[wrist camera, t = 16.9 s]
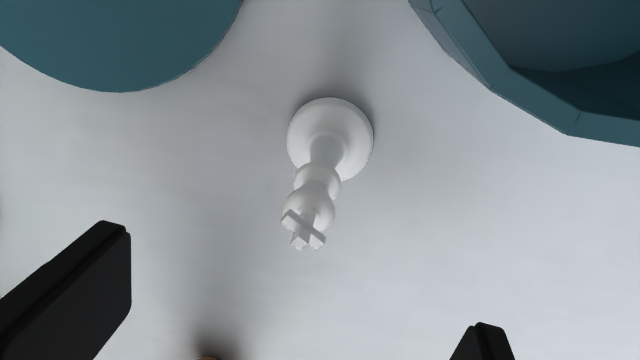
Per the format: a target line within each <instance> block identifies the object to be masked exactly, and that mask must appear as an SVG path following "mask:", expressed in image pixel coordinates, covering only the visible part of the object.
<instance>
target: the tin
mask: <svg viewBox="0 0 640 360" xmlns="http://www.w3.org/2000/svg"><path fill="white" fill-rule="evenodd" d="M408 2H409V3H410V6H411V7H412V8H413V10H414V11H415V13H416V14H417V15H418V17H419V18H420V19H421V21H422V22H423V24H424V25H425V26H426V27H427V29H428V30H429V31H430V33H431V34H432V35H433V37H434V38H435V39H436V41H437V42H438V43H439V45H440V46H441V47H442V49H443V50H444V51H445V52H446V53H447V54H448V55H450V56H451V57H452V58H453V59H454V60H455V61H456V62H458V63H459V64H460V65H461V66H462V67H463V68H465V69H466V70H467V71H468V72H469V73H470V74H472V75H473V76H474V77H475V78H476V79H477V80H478V81H480V82H481V83H482V84H483V85H484V86H485V87H487V88H488V89H489V90H490V91H491V92H493V93H495V94H497V95H498V96H500V97H502V98H503V99H505V100H507V101H508V102H510V103H512V104H514V105H515V106H517V107H519V108H520V109H522V110H524V111H525V112H527V113H529V114H531V115H532V116H534V117H536V118H537V119H539V120H541V121H542V122H544V123H546V124H547V125H549V126H551V127H553V128H554V129H556V130H558V131H559V132H561V133H563V134H566V135H568V136H574V137H580V138H586V139H592V140H598V141H604V142H610V143H616V144H622V145H628V146H634V147H640V0H408Z"/></svg>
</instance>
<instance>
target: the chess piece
mask: <svg viewBox="0 0 640 360" xmlns="http://www.w3.org/2000/svg"><path fill="white" fill-rule="evenodd" d="M286 142H287V149H288V153H289V156H290V158H291V160H292V161H293V163H294V164H295V166H296V167H297V168H298V170H297V171H296V173H295V175H294V178H293V186H294V190H295V191H293V192H292V193H291V194H290V195H289V196H288V197H287V198H286V200H285V202H284V206H283V213H284V215H283V217H282V219H281V222H280V223H281V224H283V225H284V226H285V227H287V228H288V229H289V230H290V231H292V232H293V233H294V234H293V237H292V240H291V243H290V244H291V245H293V246H294V247H295V248H296V249H298V250H299V251H301V250H302V249H303V248H304V247H306V246H307V245H309V246H311V247H312V248H313V249H314V250H316V251H317V250H318V249H319V248H321V247H322V246H323V245H324V244H325V238H326V237H325V236H324V235H323V234H321V232H323V231H325V230H326V229H328V228H329V227H330V226H331V224H332V223H333V220H334V217H335V208H334V204H333V202H332V201H334V200H335V199H336V198H337V196H338V195H339V193H340V190H341V181H344V180H347V179H349V178H351V177H353V176H355V175H356V174H357V173H359V172H360V171H361V170H362V169H363V167H364V166H365V165H366V163H367V162H368V160H369V157H370V155H371V152H372V149H373V142H374V137H373V131H372V127H371V125H370V122H369V120H368V119H367V117H366V116H365V114H364V113H363V112H362V111H361V110H360V109H359V108H358V107H356V106H355V105H353V104H352V103H350V102H348V101H345V100H343V99H339V98H332V97H326V98H319V99H315V100H312V101H310V102H308V103H306V104H305V105H303V106H302V107H301V108H300V109H299V110H298V111H297V112H296V113H295V114H294V116H293V117H292V119H291V121H290V124H289V127H288V131H287V139H286Z"/></svg>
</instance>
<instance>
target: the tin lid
mask: <svg viewBox="0 0 640 360" xmlns="http://www.w3.org/2000/svg"><path fill="white" fill-rule="evenodd" d="M242 2H243V0H0V46H2V47H3V48H4V49H6V50H7V51H8V52H10V53H11V54H13V55H14V56H15V57H17V58H18V59H20V60H21V61H22V62H24V63H26V64H28V65H29V66H31V67H33V68H35V69H36V70H38V71H40V72H41V73H44V74H46V75H48V76H50V77H53V78H55V79H57V80H59V81H62V82H65V83H68V84H71V85H74V86H77V87H80V88H85V89H90V90H95V91H101V92H118V93H121V92H133V91H141V90H145V89H149V88H153V87H157V86H160V85H162V84H164V83H167V82H169V81H172V80H174V79H176V78H178V77H180V76H182V75H183V74H185V73H187V72H188V71H190V70H191V69H193V68H194V67H196V66H197V65H198V64H199V63H200V62H201V61H203V60H204V59H205V58H206V57H207V56H208V55H209V54H210V53H211V52H212V51H213V50H214V49H215V47H216V46H217V45H218V44H219V43H220V42H221V40H222V39H223V37H224V36H225V34H226V33H227V31H228V30H229V28H230V26H231V25H232V23H233V22H234V20H235V17H236V15H237V13H238V11H239V9H240V6H241V4H242Z"/></svg>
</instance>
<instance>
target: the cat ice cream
mask: <svg viewBox="0 0 640 360" xmlns="http://www.w3.org/2000/svg"><path fill="white" fill-rule="evenodd" d="M197 360H217V359H215V358H212V357H202V358H199V359H197Z"/></svg>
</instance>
